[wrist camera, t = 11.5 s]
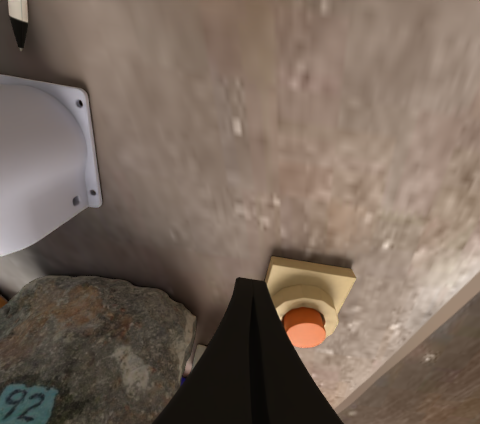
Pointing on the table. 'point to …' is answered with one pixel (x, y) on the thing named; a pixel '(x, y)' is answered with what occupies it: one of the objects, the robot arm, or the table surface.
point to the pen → (19, 20)
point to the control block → (308, 288)
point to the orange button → (304, 327)
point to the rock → (91, 352)
